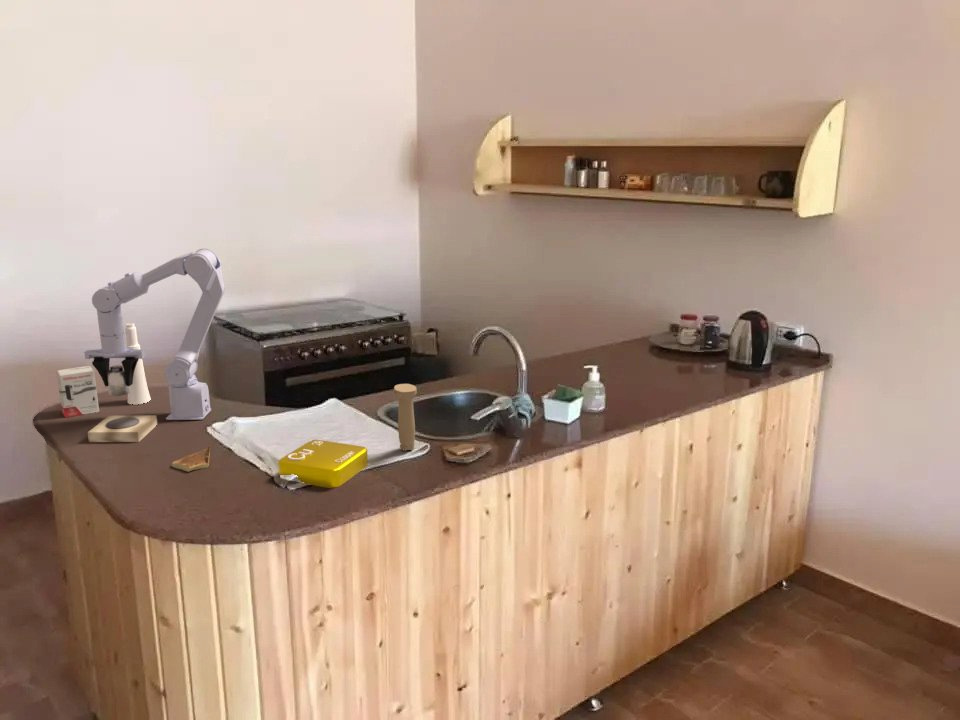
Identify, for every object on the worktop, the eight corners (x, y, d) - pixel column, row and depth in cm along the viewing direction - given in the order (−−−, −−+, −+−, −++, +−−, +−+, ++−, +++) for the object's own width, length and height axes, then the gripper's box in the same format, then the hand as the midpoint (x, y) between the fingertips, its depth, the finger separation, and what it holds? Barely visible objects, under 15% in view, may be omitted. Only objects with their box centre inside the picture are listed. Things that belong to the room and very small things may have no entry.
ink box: (64, 418, 218) (58, 374, 214) (62, 413, 222) (55, 370, 218) (100, 412, 222) (94, 369, 219) (96, 407, 226) (90, 365, 223)
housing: (133, 390, 218) (130, 364, 216) (125, 395, 213) (122, 369, 211) (114, 390, 218) (110, 364, 216) (106, 396, 213) (102, 369, 211)
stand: (157, 424, 212) (156, 414, 212) (138, 441, 201) (137, 430, 200) (110, 425, 212) (108, 414, 212) (88, 442, 201) (87, 431, 200)
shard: (210, 452, 195) (209, 445, 194) (232, 459, 191) (231, 452, 190) (170, 468, 186) (170, 460, 186) (193, 475, 182) (192, 468, 182)
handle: (413, 443, 199) (411, 382, 195) (421, 452, 193) (419, 390, 189) (393, 445, 197) (391, 385, 193) (400, 455, 191) (398, 393, 187)
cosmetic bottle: (128, 399, 233) (118, 322, 227) (151, 397, 234) (142, 320, 228) (126, 405, 227) (116, 327, 221) (150, 403, 229) (141, 325, 223)
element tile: (335, 491, 174) (334, 469, 173) (275, 480, 179) (273, 459, 178) (371, 464, 187) (370, 444, 186) (314, 455, 193) (312, 436, 191)
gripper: (76, 338, 208) (83, 390, 211) (134, 337, 208) (140, 389, 211) (89, 331, 215) (95, 381, 218) (145, 330, 215) (151, 381, 218)
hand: (118, 385), depth 215 cm, fingers closed on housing, 5 cm apart
